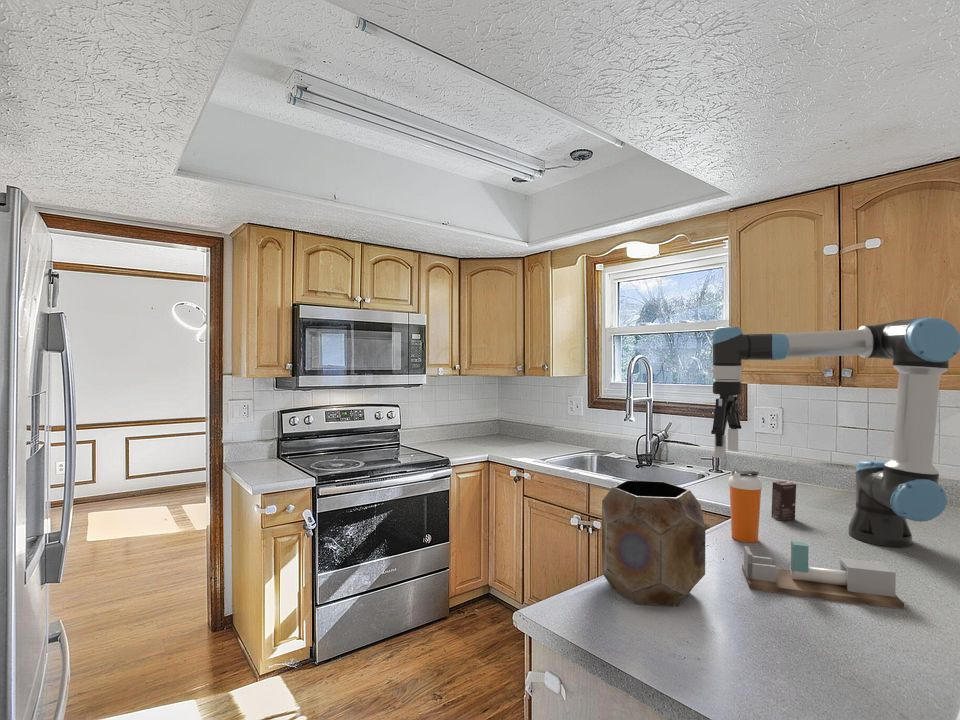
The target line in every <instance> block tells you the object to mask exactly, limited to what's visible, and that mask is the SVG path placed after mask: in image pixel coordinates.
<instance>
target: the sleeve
mask: <svg viewBox="0 0 960 720" xmlns="http://www.w3.org/2000/svg"><path fill="white" fill-rule="evenodd" d="M839 570H842V571H847V591H852V592H860V593H868V594H876V595H884V596H892V597H895V595H896V586H897V585H896V584H897V583H896V582H897V581H896V579H897V574H896V571H894V570H893V569H892V568H891V567H890V565H888V564H887V563H886V562H882V561H881V562H880V561H870V560H863V559H852V558H844V557H840V558H839Z"/></svg>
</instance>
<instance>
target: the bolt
mask: <svg viewBox="0 0 960 720" xmlns="http://www.w3.org/2000/svg"><path fill="white" fill-rule="evenodd" d="M790 570H791V577H792V579H796V580H804V581H812V582H821V583H829V584H837V585H845V586H847V571H842V570H840V569H831V568H823V567H814V566H809V545H808V544H807V542H805V541H798V540H791V541H790Z"/></svg>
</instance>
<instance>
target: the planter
mask: <svg viewBox="0 0 960 720" xmlns="http://www.w3.org/2000/svg"><path fill="white" fill-rule="evenodd" d="M601 573H602V575H603V577H604V578H605V579H606V581H607V583H608V584H609V585H610V587H611V588H612V589H614V590H615V591H616V592H618V593H619V594H621V595H622V596H624V597H625V598H626V599H628V600H629V601H631V602H632V603H634V604H635V605H645V606H647V605H649V606H663V607H679V605H681V603H682V602H683V601H684V600H685V598H686V597H687V596H688V595H689V594H690V592H691V591H692V590H693V589H694V587H695V586H696V585H697V584H698V583H699V582H700V581H701V580H702V579H703V578H704V576H705V575H706V525H705V519H704V515H703V511H702V506H701V503H700V502H699V501H698V499H697V497H695V495H694V493H693V492H692V490H690V489H687V488H685V487H682V486H678V485H675V484H672V483H669V482H667V481H666V482H665V481H658V480H655V481H653V480H625V481H623V482H620V483H619V484H617V485H614V486H613V487H611V489H610V490H609V491H608V493H607V494H606V495H605V496H604V497H603V499H602V500H601Z"/></svg>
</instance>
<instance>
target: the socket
mask: <svg viewBox="0 0 960 720" xmlns="http://www.w3.org/2000/svg"><path fill="white" fill-rule="evenodd" d="M772 561H773V559H772V557H769V556H768V557H767V556H757V555H753V553H752V552H751V549H750V546H747V545H744V546H743V565H744V571H745V573H746V576H747V578H748V579H755V580H763V581H771V582H776V568H777V566H776V565H773V564H772Z"/></svg>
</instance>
